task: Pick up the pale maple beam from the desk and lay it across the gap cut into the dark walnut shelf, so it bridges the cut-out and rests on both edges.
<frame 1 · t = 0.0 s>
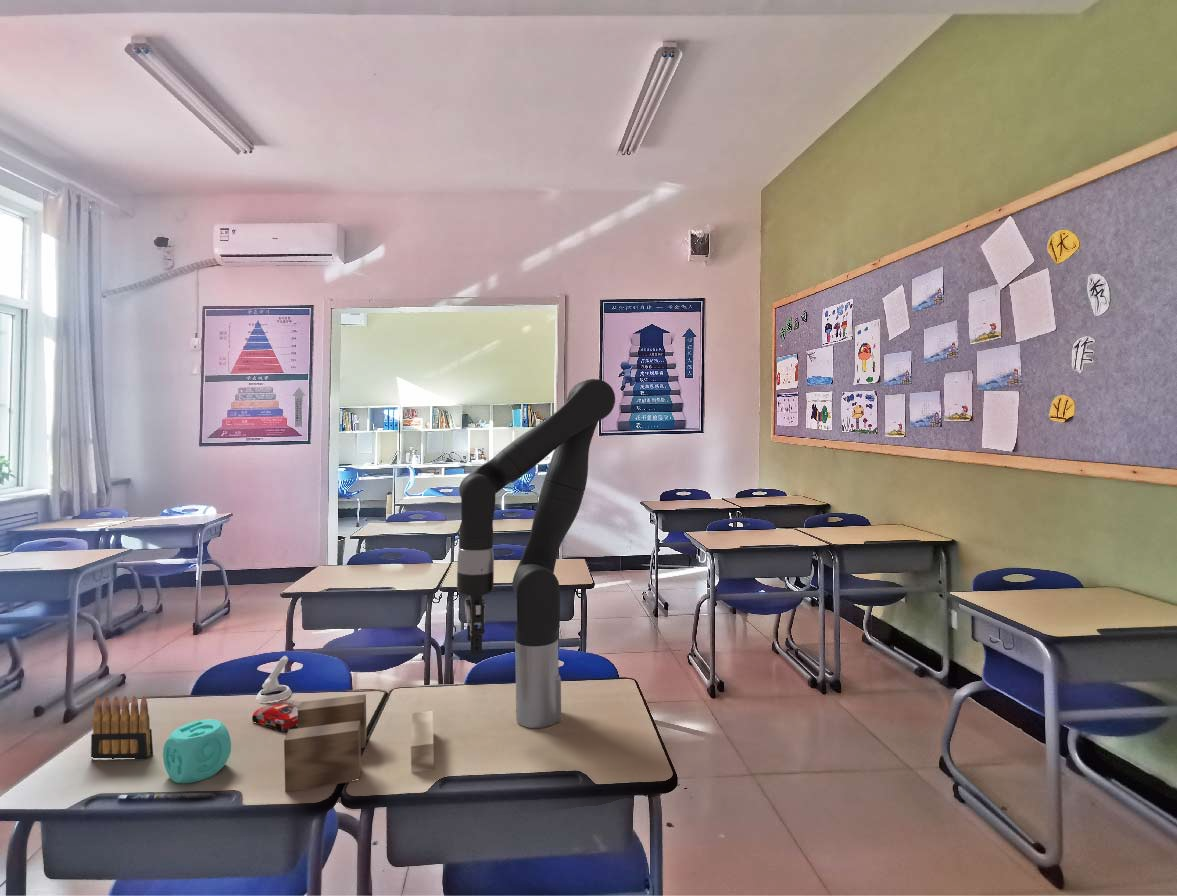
hand: (474, 646, 127), 17 cm above the table, tool pointing down, fingers open, 8 cm apart
decorative dice: (198, 772, 112), on the table
slotted shelf: (329, 762, 114), on the table
maple beam: (422, 753, 118), on the table
hook: (274, 698, 144), on the table
race car: (278, 724, 131), on the table
ammunition clip: (122, 758, 117), on the table
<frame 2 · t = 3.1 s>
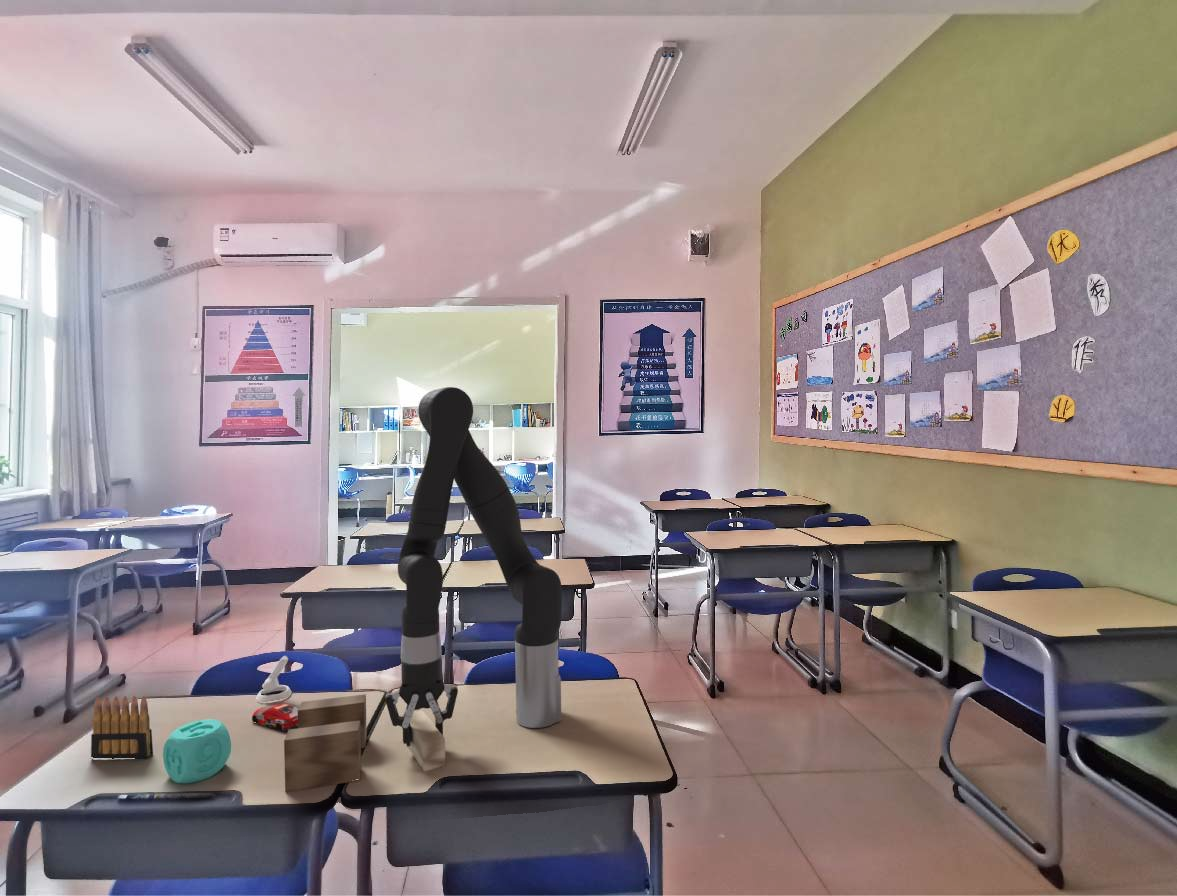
hand: (423, 741, 118), 2 cm above the table, tool pointing down, fingers closed on maple beam, 4 cm apart
maple beam: (423, 751, 118), on the table, touching gripper
everything else where it was.
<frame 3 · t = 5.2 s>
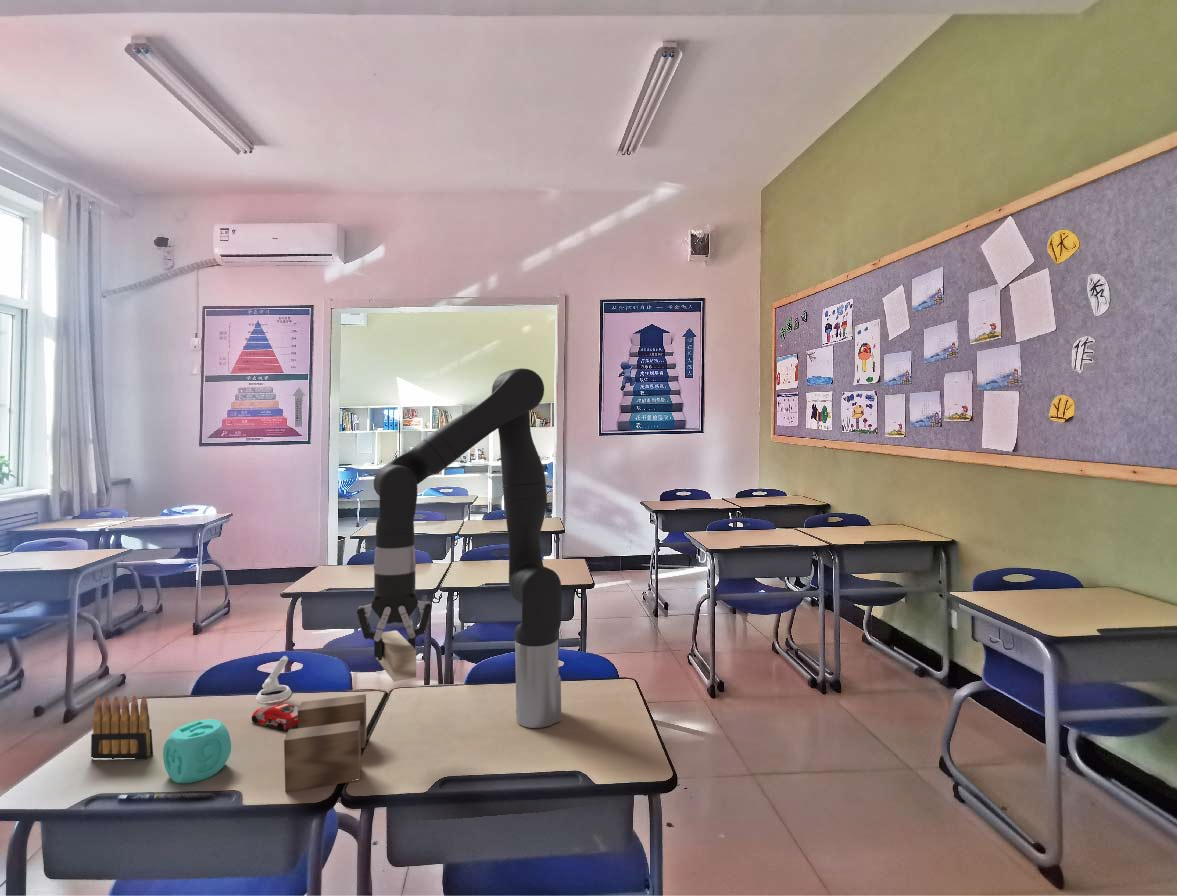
hand: (394, 657, 116), 19 cm above the table, tool pointing down, fingers closed on maple beam, 4 cm apart
maple beam: (395, 667, 116), point 17 cm above the table, touching gripper
everything else where it was.
when the fingers open (12 cm above the table, at t = 7.6 s): maple beam drops 1 cm, resting on slotted shelf.
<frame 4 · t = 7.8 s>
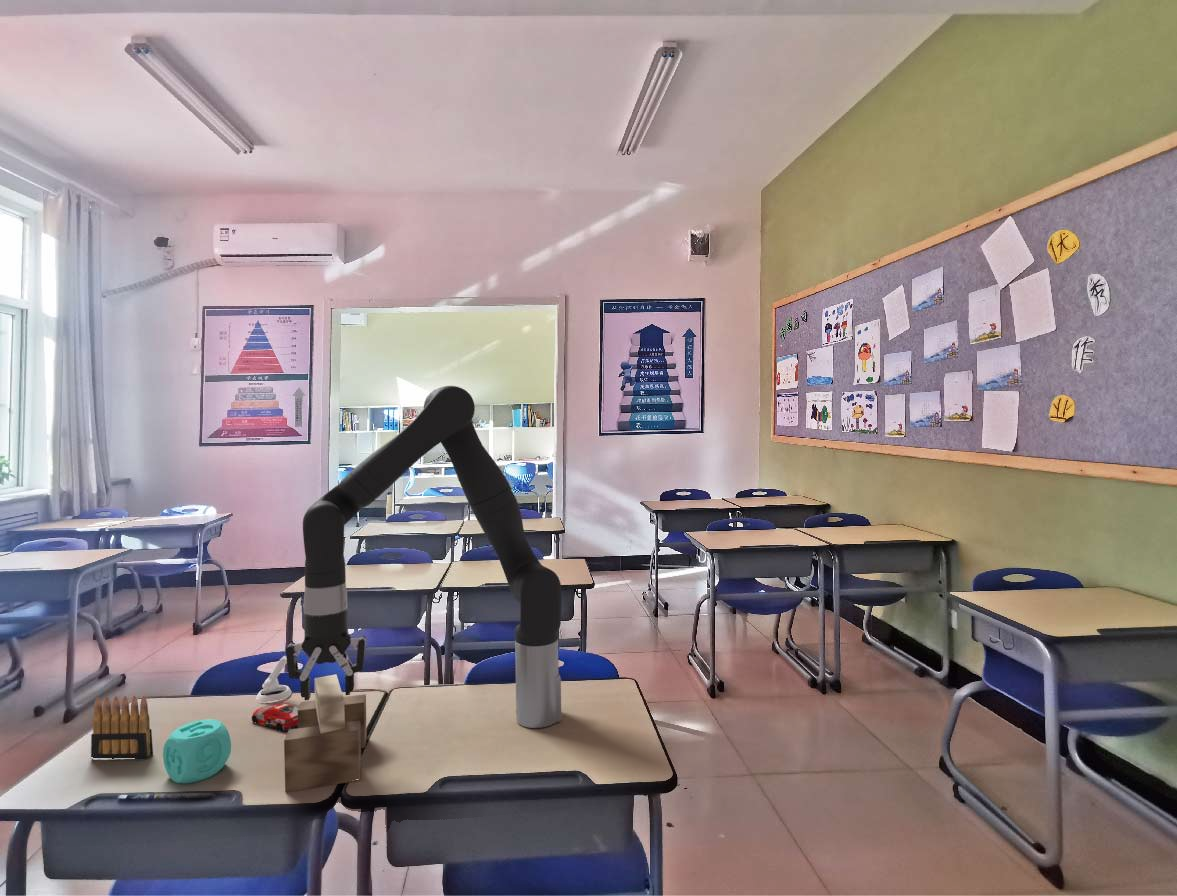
hand: (327, 695, 114), 13 cm above the table, tool pointing down, fingers open, 6 cm apart
maple beam: (329, 715, 114), point 9 cm above the table, touching slotted shelf
everything else where it was.
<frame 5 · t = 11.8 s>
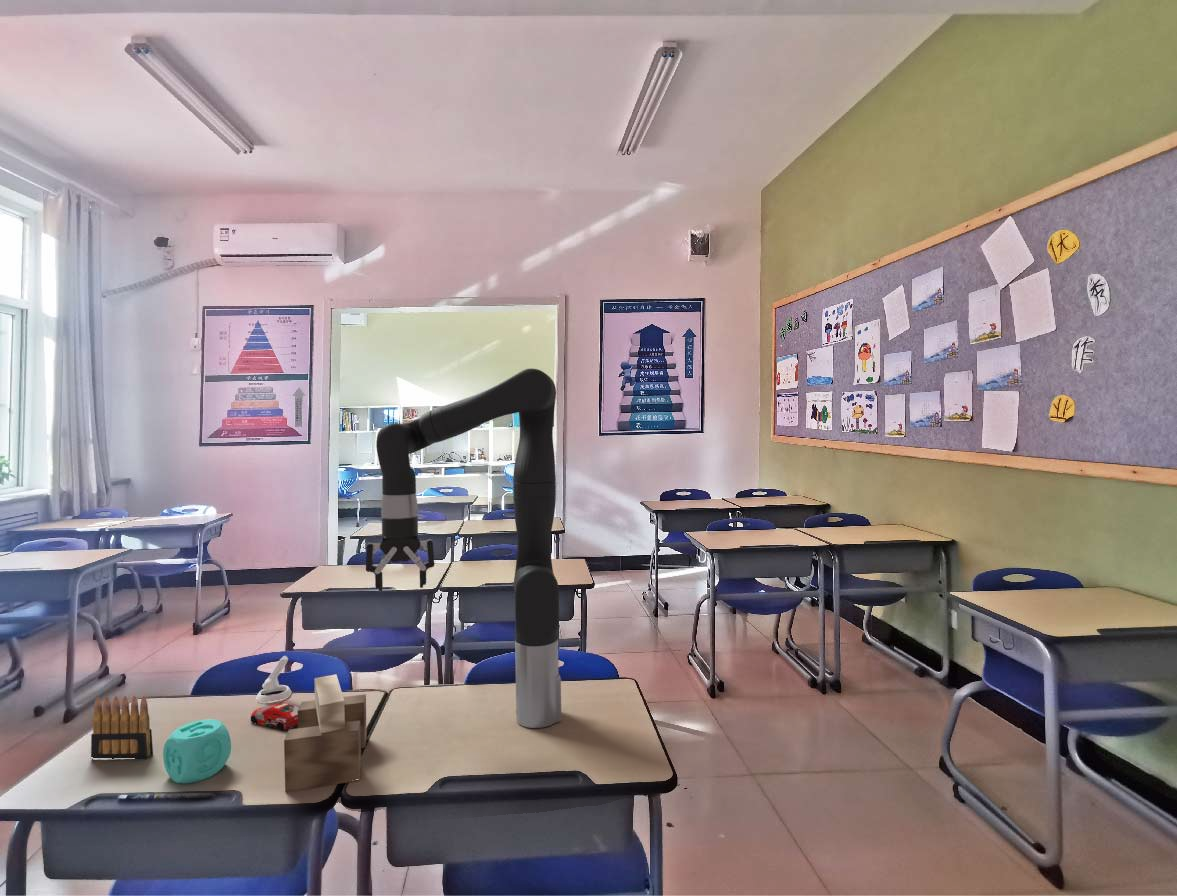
hand: (401, 588, 132), 28 cm above the table, tool pointing down, fingers open, 8 cm apart
nothing on the table moved.
at the end: maple beam 0.2 cm off-centre on the slotted shelf, point 9.0 cm above the slotted shelf's base; the gripper is holding nothing; maple beam tilted 0° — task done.
